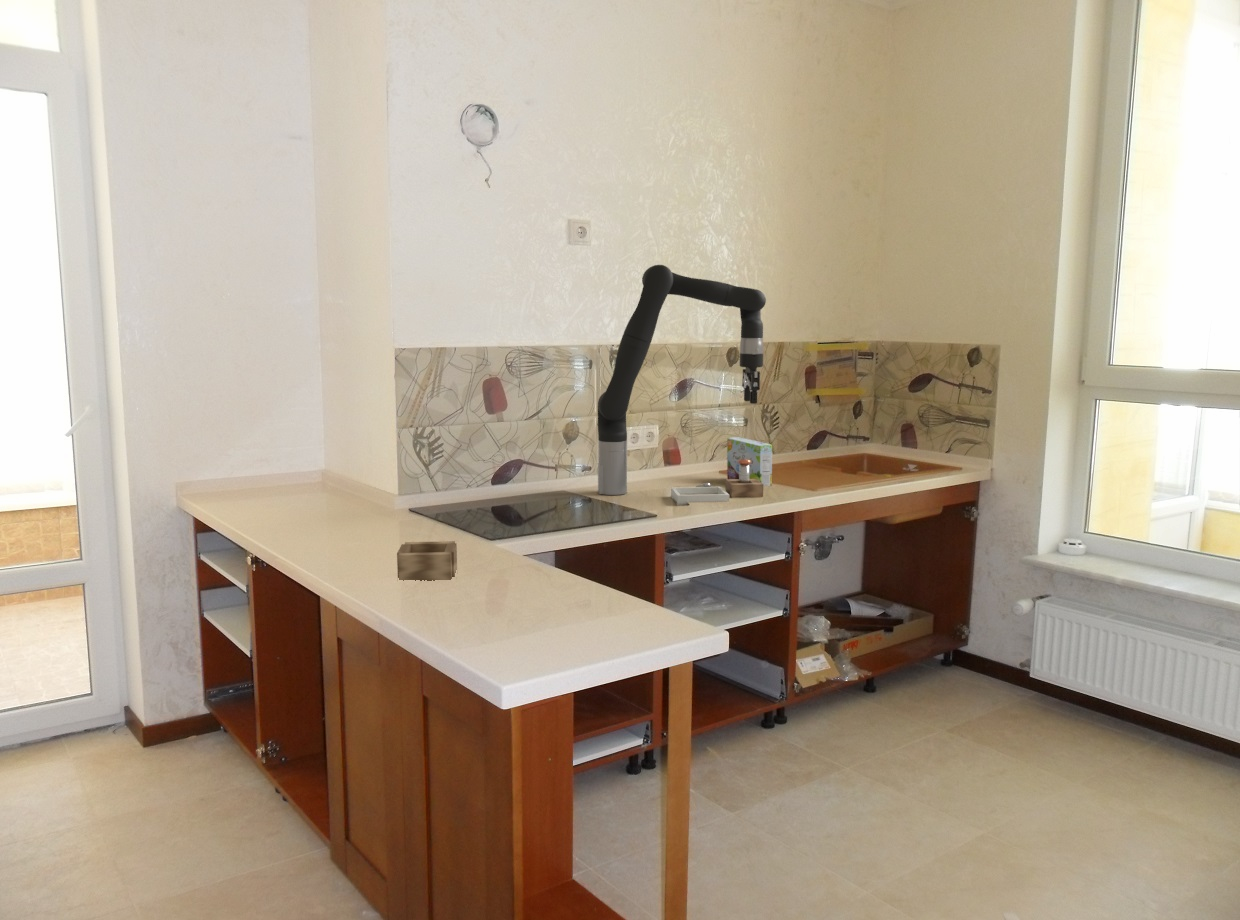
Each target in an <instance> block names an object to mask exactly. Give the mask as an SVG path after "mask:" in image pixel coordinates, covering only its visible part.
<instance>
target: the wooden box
mask: <svg viewBox="0 0 1240 920" xmlns="http://www.w3.org/2000/svg"><path fill="white" fill-rule="evenodd" d="M724 490H725V491H726V492H727V493H728V494H729V497H730V498H734V499H735V498H764V486H763V484H762V483H761V482H760V481H758V480H757V479H749V483H739V479H727V478H725V489H724Z"/></svg>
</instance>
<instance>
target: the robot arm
mask: <svg viewBox="0 0 1240 920" xmlns="http://www.w3.org/2000/svg"><path fill="white" fill-rule="evenodd" d="M641 281H642V283H641V284H642V290H641V293H640V297H639V300H638V304H637V305H636V308H635V309H634V311H633V313H632V315H631V317H630V318H629V320H628V322H627V325H626V327H625V328H624V331H623V333H622V337H621V339H620V342H619V345H618V349H617V351H616V352H617V353H616V358H615V363H614V369H613V372H612V373H613V374H612V376H611V379H610V381H609V383H608V385H607V388H606V390H605V391H604V392H603V393H602V394H601V395H600V396H599V398H598V401H597V435H598V462H597V492H598V495H605V496H606V495H607V496H617V495H619V496H620V495H625V494H627V493H628V485H627V484H628V433H627V432H628V430H627V412H628V408H629V403H630V399H631V396H632V392H633V387H634V385H635V381H636V380H637V377H638V375H639V373H640V371H641V368H642V367H643V364H644V361H645V360H646V357H647V354H648V352H649V349H650V346H651V343H652V340H653V336H654V334H655V330H656V327H657V323H658V319H659V316H660V313H661V310H662V307H663V305H664V304H665V301H666V298H667V296H668V295H670V296H671V295H674V296H680V297H681V296H682V297H686V298H690V299H695V300H698V301H702V302H705V303H710V304H713V305H718V306H719V305H720V306H724V307H734V308H737V309H739V312H740V313H739V314H740V320H741V321H740V322H741V325H740V326H741V327H740V329H741V330H740V342H739V343H740V344H739V367H740V368H743V369H742V379H741V380H742V383H741V386H742V388H743V401H744V402H749V404H751V405H753V404H757V403H758V392H759V391H760V389H761V386H760V383H761V381H760V379H761V378H760V377H761V372H760V371H759V370H758V368H763V366H764V324H763V323H764V322H763V321H762V319H761V318H762V317H761V315H762V314H761V313H762V312H761V310H762V309H763V308H764V307H765V305H766V302H767V299H766V296H765V294H764V293H763V292H762V291H761V290H760V289H756V288H751V287H750V288H749V287H744V286H736V285H732V284H730V283H726V282H721V281H716V280H710V279H703V278H695V277H688V276H686V275H685V276H684V275H681V274H677V273H675V272H672V270H671V269H670V268H669V267H668V266H666V265H664V264H655V265H652V266H650V267H648V268H647V269H645V271H644V273H643V274H642V277H641Z"/></svg>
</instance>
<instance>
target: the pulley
mask: <svg viewBox="0 0 1240 920" xmlns="http://www.w3.org/2000/svg"><path fill="white" fill-rule="evenodd" d="M695 487H718V486H716V485H711V482H703V483H702V484H701V485H700V484H699V485H696V486H695Z"/></svg>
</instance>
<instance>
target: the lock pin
mask: <svg viewBox="0 0 1240 920" xmlns="http://www.w3.org/2000/svg"><path fill="white" fill-rule="evenodd" d="M738 463H739V464H740V466H739V483H749V474H750V464H751V460H749V459H739V460H738Z"/></svg>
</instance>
